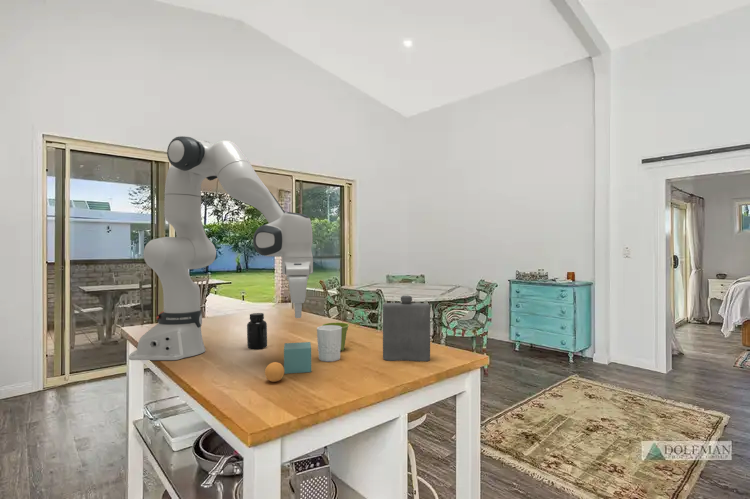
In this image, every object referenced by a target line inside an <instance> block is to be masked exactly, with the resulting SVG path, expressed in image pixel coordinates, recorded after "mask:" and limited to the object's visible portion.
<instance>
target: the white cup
mask: <svg viewBox="0 0 750 499" xmlns="http://www.w3.org/2000/svg"><path fill="white" fill-rule="evenodd" d="M341 335H342V327H341V326H336V325H326V326H322V325H320V326H317V327H316V336H317V338H316V341H317V351H318V361H320V362H336V361H339V360H340V359H341Z"/></svg>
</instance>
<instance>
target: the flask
mask: <svg viewBox="0 0 750 499" xmlns="http://www.w3.org/2000/svg"><path fill="white" fill-rule="evenodd" d="M400 301H401V302H386V303H383V304H382V359H383V360H384V361H387V362H395V361H396V362H397V361H398V362H400V361H403V362H405V361H406V362H420V361H426V362H429V361H430V360H431V304H429V303H423V302H412V301H413V297H412V296H411V295H401V297H400Z"/></svg>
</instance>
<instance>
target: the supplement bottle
mask: <svg viewBox="0 0 750 499" xmlns="http://www.w3.org/2000/svg"><path fill="white" fill-rule="evenodd" d="M264 319H265V313H264V312H254V313H249V320H250V321H248V323H247V325H246V334H247V335H246V336H247V337H246V340H247V341H246V342H247V345H246V346H247V348H248V349H249V350H253V351H254V350H263V349H265V348H267V347H268V324H267V322H266V320H264Z"/></svg>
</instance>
